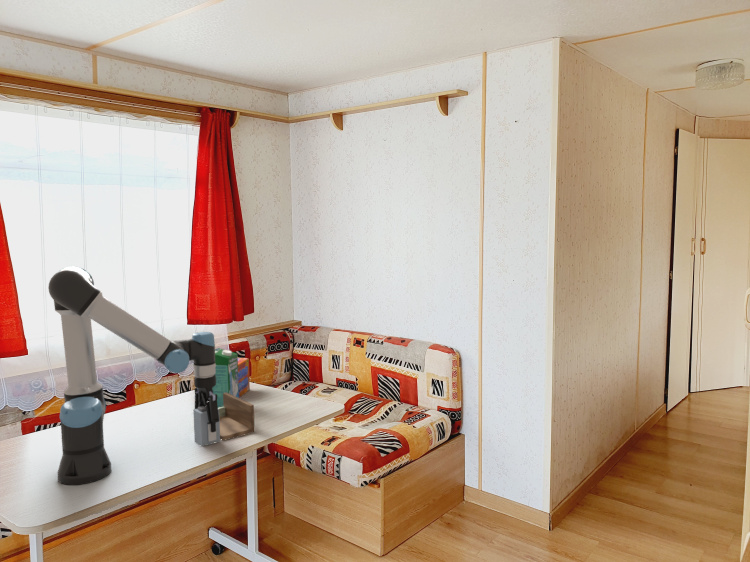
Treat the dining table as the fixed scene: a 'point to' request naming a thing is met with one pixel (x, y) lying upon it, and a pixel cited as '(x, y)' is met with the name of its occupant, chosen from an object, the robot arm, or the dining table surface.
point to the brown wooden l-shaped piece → (235, 417)
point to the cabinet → (203, 427)
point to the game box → (243, 376)
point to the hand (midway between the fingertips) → (207, 437)
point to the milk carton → (226, 374)
